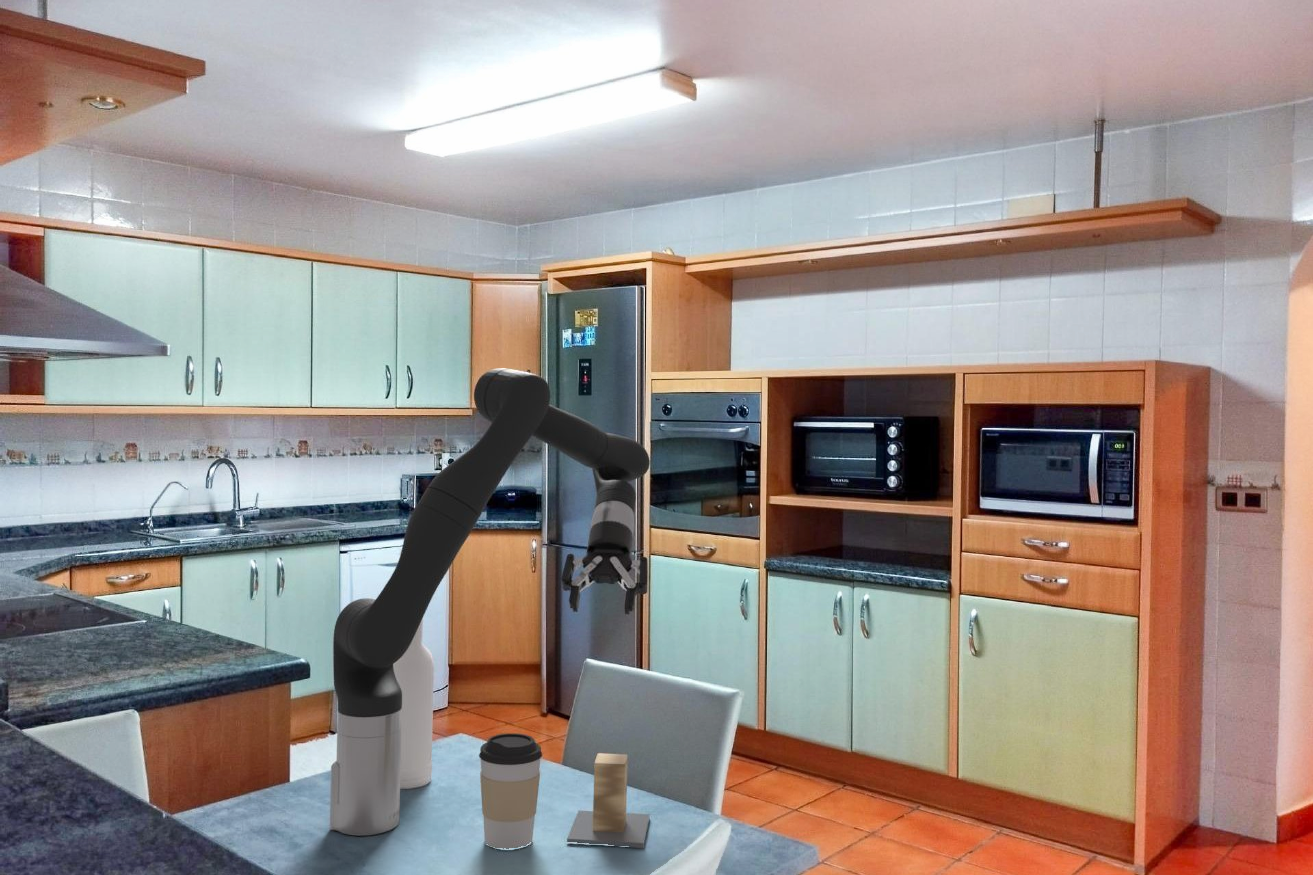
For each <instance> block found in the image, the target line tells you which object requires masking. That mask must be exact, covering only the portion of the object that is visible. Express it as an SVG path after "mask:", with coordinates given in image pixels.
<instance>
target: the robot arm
mask: <svg viewBox="0 0 1313 875" xmlns="http://www.w3.org/2000/svg"><path fill="white" fill-rule="evenodd" d="M473 400H474V405H475V407H476V410H477V411H478V413H479V415H481V416H482V417H483V419H485V420H487V421H488V422H491V424H490V425H489V427H488V429H487V430H486V432H485V433H484V434H483V436H482V437H481V439H479V441H478V442H477V443H475V444H474V445H473V446H472V447H471V448H470V449H468V450H467V451H466V452H464V453H463V454H462V455H461V456H459V457H458V458H456V459H455V460H454V461H452V462H451V463H450V464H448V465H447V466H446V467H444V468H443V469H441V470H440V472H438V474H437V475H435V477H434V478H433V479H432V480H431V481H430V483H429V485H428V486H427V488H426V489H425V490H424V493H423V494H422V495H421V498H420V499H419V501H418V503H416V506H415V507H414V509H413V511H412V513H411V514H410V516H409V520H408V523H407V525H406V529H405V534H404V538H403V544H402V547H401V552H400V554H399V559H398V561H397V564H396V567H395V568H394V570H393V572H392V574H391V576H390V578H389V579H388V581H387V582H386V583H385V585H384V587H383V588H382V590H381V592H380V593H378V595H377V597H376V599H374V598H366V597H365V598H363V597H362V598H358V599H356V600H353V601H351V602H350V603H348V604H347V605H346V606H345V607H344V608H342V610H341V611H340V613H339V615H338V616H337V619H336V622H335V624H334V629H333V641H332V645H333V646H332V647H333V648H332V649H333V650H332V656H333V658H332V661H333V663H332V664H333V666H332V667H333V687H334V691H335V694H336V698H337V722H336V723H337V724H336V725H337V726H336V728H337V731H336V734H337V735H336V760H335V761H334V762H333V763H332V764H331V766H330V790H329V791H330V794H329V795H330V798H329V804H330V805H329V830H331V831H337V832H339V833H341V834H343V835H348V836H349V835H350V836H373V835H378V834H382V833H383V834H384V833H386V832H389V831H391V830H393V829H394V828H396V827H397V826H398V825H399V823H400V811H401V810H400V809H401V806H400V802H401V800H400V797H401V789H400V768H401V729H402V728H401V727H402V690H401V688H400V686H399V684H398V682H397V680H396V677H395V673H394V668H393V664H394V663H395V662H397V661H398V660H399V659H400V658H401V657H402V656H403V655H404V653H405V652H406V651H407V649H408V648H409V646H410V644H411V642H412V640H413V638H414V636H415V634H416V632H417V629H418V627H419V625H420V623H421V621H422V618H423V619H424V616H425V614H426V612H427V609H428V607H429V605H430V603H431V601H432V598H434V595H435V593H436V591H437V589H438V588H439V585H440V584H441V582H442V581H443V579H444V578H445V576H446V574H447V573H448V571H449V570H450V567H451V565H452V564H453V562H454V560H455V558H456V557H457V555H458V554H459V552H460V550H461V548H462V547H463V545H464V544H465V542H466V540H467V539H468V538H469V536H470V534H471V532H472V531H473V529H474V528H475V526H476V524H477V522H478V521H479V519H480V517H481V515H482V514H483V511H484V510H485V508H486V506H487V504H488V502H489V500H490V499H491V497H492V495H493V494H494V493H495V491H496V489H497V487H498V486H499V485H500V484H501V483H500V482H501V481H502V479H503V478H504V476H505V475H506V473H507V471H508V470H509V469H510V467H511V466H512V464H513V462H514V461H515V459H516V458H517V456H518V455H519V454H520V453H521V452H522V450H523V449H524V447H525V446H526V444H527V443H528V442H529V440H530V439H531V438H532V437H534V438H536V439H537V440H540V441H542V442H543V443H545V444H547V445H549V446H550V447H551V448H553V449H555V450H556V451H558V452H561V453H563V454H564V455H565V456H567V457H569V458H570V459H572V460H574V461H576V462H578V463H579V464H581V465H582V466H585V467H587V468H591V470H592V474H593V478H594V483H595V491H596V498H595V499H596V500H595V506H594V512H593V514H592V518H591V522H590V528H589V535H588V540H587V541H588V543H587V547H586V553H585V555H584V556H583V557H575V555H574V554H573V553H569V554H567V555H566V559H565V561H564V562H565V563H564V565H563V566H564V567H563V570H562V574H561V578H560V579H561V580H560V582H561V586H562V590H563V591H569V592H570V594H569V598H568V604H569V608H570V609H572V612H573V613H578V611H579V607H580V606H579V605H580V599H581V592H582V591H583V590H584V589H585V588H589V587H590V586H591V585H592V584H593V583H594V582H595V584H609V585H615V584H616V583H618V584H619V585H620V587H621V588H622V590H625V598H624V599H625V600H624V615H630V614H631V613H630V612H633V611H634V610H635V602H636V597H637V595H638V594H641V595H646V594H648V582H649V581H648V580H649V579H648V578H649V567H648V565H649V564H648V558H647V557H646V556H641V557H640V559H638V560H637V559H636V560H635V559H634V560H633V559H632V558H631V556H632V554H631V553H632V545H633V538H634V535H635V534H634V533H635V530H634V529H635V520H634V519H635V511H636V510H635V509H636V498H637V495H636V490H635V488H634V486H633V485H632V484H631V483H630V482H632V481H634V480H637V479H639V478H642V477H643V476H644V475H645V474H646V473H648V470H649V468H650V465H651V463H650V461H651V459H650V455H649V454H648V451H647V450H646V449H645V447H644V446H643V445H642V444H641V443H640V442H638V441H637V440H634V439H632V438H630V437H626V436H622V435H619V434H616V433H609V432H605V431H604V430H602V429H600V427H598V426H596V425H595V424H592V423H591V422H590V421H588V420H586V419H584V418H582V417H580V416H577V415H575V414H574V413H570V412H568V411H565V410H564V409H561V408H558V407H556V406H554V405H552V404H550V401H551V389H550V386H549V384H548V382H547V380H546V379H544V377H542V376H540V375H538V374H535V373H533V372H532V373H531V372H527V371H522V370H517V369H511V368H504V367H502V368H501V367H499V368H494V369H493V368H492V369H490V370H487V371H486V372H484V373H483V374H482V375H481V376H480V377H479V379H478V380H477V382H476V384H475V387H474V391H473ZM580 567H582V568H583V569H582V570H581V571H580V573H579V574H578V575H577V576H576V577H575V578H574V579H573V576H574V573H575V572H577V570H578V569H579V568H580ZM632 569H635V572H636V574H638V575H639V581H638V582H635V581H634V580H633V579H632V577H631V576H630V574H629V573H630V571H631V570H632Z"/></svg>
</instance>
